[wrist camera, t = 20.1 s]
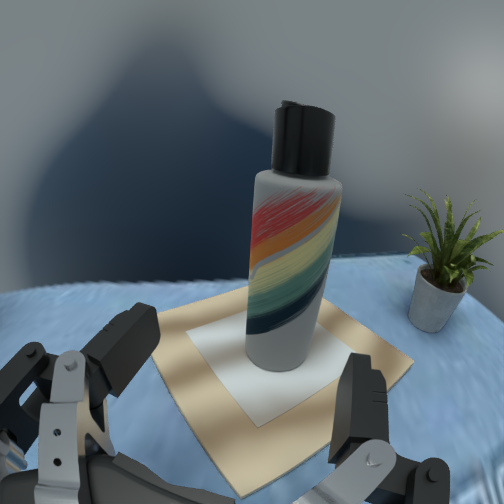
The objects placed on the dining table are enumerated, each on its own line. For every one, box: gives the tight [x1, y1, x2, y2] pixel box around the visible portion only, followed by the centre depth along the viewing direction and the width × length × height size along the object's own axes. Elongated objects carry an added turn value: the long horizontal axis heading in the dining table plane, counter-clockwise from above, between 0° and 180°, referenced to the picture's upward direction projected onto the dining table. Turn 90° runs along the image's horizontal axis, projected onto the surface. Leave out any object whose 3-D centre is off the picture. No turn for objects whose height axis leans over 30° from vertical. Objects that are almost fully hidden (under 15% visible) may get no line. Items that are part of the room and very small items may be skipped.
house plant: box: [405, 192, 504, 333], centre depth 27 cm, size 14×14×16 cm
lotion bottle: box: [245, 100, 342, 372], centre depth 20 cm, size 6×6×20 cm
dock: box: [151, 286, 414, 499], centre depth 24 cm, size 20×20×1 cm
